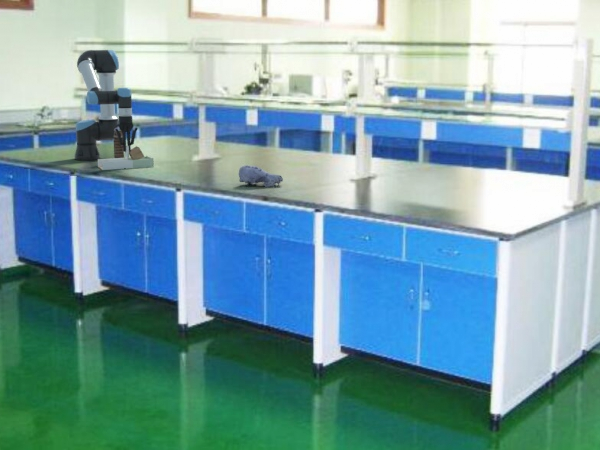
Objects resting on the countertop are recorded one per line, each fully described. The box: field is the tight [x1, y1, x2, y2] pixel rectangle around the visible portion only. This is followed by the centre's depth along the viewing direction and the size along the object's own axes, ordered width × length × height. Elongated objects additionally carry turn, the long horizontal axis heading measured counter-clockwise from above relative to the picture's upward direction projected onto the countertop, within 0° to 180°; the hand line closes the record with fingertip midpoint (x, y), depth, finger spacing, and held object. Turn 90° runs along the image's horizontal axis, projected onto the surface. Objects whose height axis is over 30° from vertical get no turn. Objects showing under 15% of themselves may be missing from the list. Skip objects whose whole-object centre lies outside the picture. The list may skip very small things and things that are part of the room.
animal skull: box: [238, 165, 284, 188], centre depth 417 cm, size 14×22×10 cm, turn 75°
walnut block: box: [129, 145, 145, 160], centre depth 481 cm, size 6×6×6 cm
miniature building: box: [112, 129, 125, 158], centre depth 495 cm, size 10×11×20 cm
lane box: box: [97, 155, 155, 171], centre depth 480 cm, size 12×29×5 cm, turn 115°
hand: (127, 157), depth 480 cm, fingers closed
